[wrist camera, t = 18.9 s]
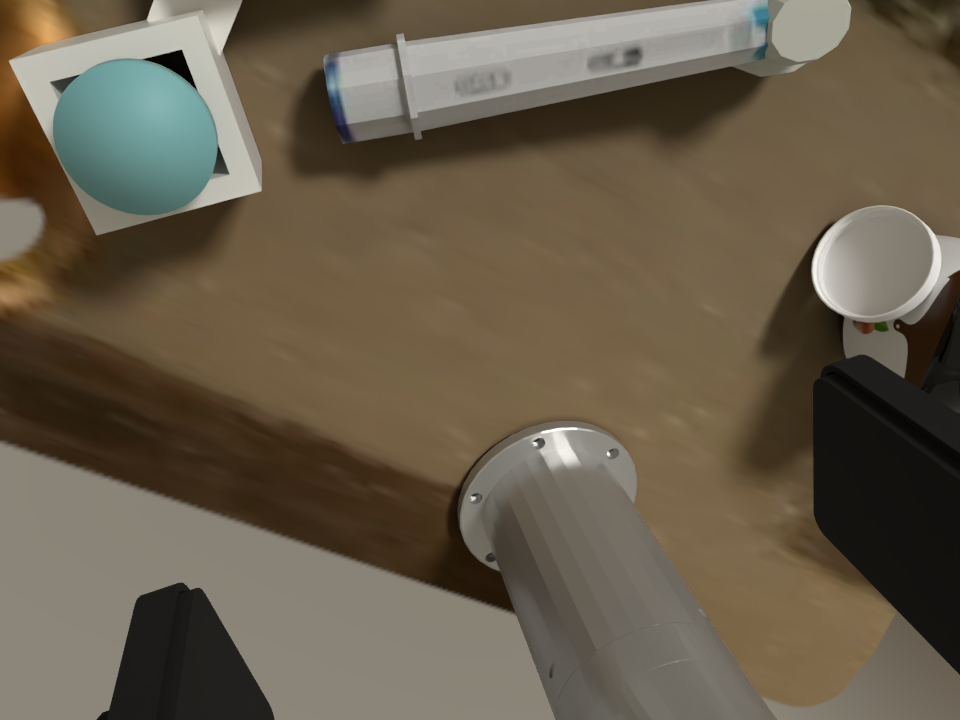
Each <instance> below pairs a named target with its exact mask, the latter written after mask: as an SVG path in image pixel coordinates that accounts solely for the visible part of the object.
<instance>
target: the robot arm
mask: <svg viewBox="0 0 960 720" xmlns="http://www.w3.org/2000/svg"><path fill="white" fill-rule="evenodd" d="M813 457H814V516H815V520H816V522H817V524H818V527H819V528H820V530H821V532H822V533H823V534H824V535H825V536H826V538H827V539H828V540H829V541H830V542H831V543H832V544H833V545H834V546H835V547H836V548H837V549H838V550H839V551H840V552H841V553H842V554H843V555H844V556H845V557H846V558H847V559H848V560H849V561H850V562H851V563H852V564H853V565H854V566H855V567H856V568H857V569H858V570H859V571H860V573H861V574H862V575H863V576H864V577H865V578H866V579H867V580H868V581H869V582H870V583H871V584H872V585H873V586H874V587H875V588H876V589H877V590H878V591H879V592H880V593H881V594H882V595H883V596H884V597H885V598H886V599H887V600H888V601H889V602H890V603H891V604H892V605H893V606H894V608H895V609H896V610H897V611H898V612H899V613H900V614H901V615H902V616H903V617H904V618H905V619H906V620H907V621H908V622H909V623H910V624H911V625H912V626H913V627H914V628H915V629H916V630H917V631H918V632H919V633H920V634H921V635H922V636H923V637H924V638H925V639H926V640H927V641H928V643H929V644H930V645H931V646H932V647H933V648H934V649H935V650H936V651H937V652H938V653H939V654H940V655H941V656H942V657H943V658H944V659H945V660H946V661H947V662H948V663H949V664H950V665H951V666H952V667H953V668H954V669H955V670H956V671H957V672H958V673H959V674H960V414H959V413H957V412H956V411H954V410H952V409H951V408H949V407H948V406H946V405H945V404H943V403H942V402H940V401H938V400H937V399H935V398H934V397H932V396H931V395H929V394H928V393H926V392H924V391H923V390H921V389H920V388H918V387H917V386H915V385H914V384H912V383H910V382H909V381H907V380H906V379H904V378H903V377H901V376H900V375H898V374H896V373H895V372H893V371H892V370H890V369H889V368H887V367H886V366H884V365H882V364H881V363H879V362H878V361H876V360H875V359H873V358H872V357H869V356H867V355H857V356H854V357H851V358H848V359H845V360H842V361H839V362H836V363H833V364H830V365H827V366H826V367H824V368H823V370H822V372H821V378H819V379H817V380H816V381H815V383H814V387H813ZM636 493H637V474H636V469H635V465H634V463H633V461H632V459H631V457H630V455H629V453H628V452H627V450H626V449H625V448H624V447H623V445H622V444H621V443H620V441H619V440H618V439H616V438H615V437H614V436H613V435H612V434H610V433H609V432H608V431H606V430H604V429H602V428H600V427H598V426H596V425H592V424H588V423H584V422H579V421H556V422H547V423H543V424H539V425H535V426H532V427H528V428H526V429H524V430H522V431H519V432H517V433H515V434H513V435H511V436H509V437H508V438H506V439H504V440H503V441H501V442H500V443H498V444H497V445H495V446H494V447H493V448H492V449H491V450H490V451H488V452H487V453H486V454H485V455H484V456H483V457H482V458H481V459H480V460H479V461H478V463H477V464H476V465H475V466H474V468H473V469H472V470H471V472H470V473H469V475H468V477H467V479H466V481H465V482H464V484H463V486H462V490H461V493H460V496H459V499H458V508H457V517H458V523H459V528H460V531H461V534H462V537H463V540H464V542H465V544H466V546H467V547H468V549H469V550H470V552H471V553H472V554H473V555H474V556H475V557H476V558H477V559H478V560H479V561H480V562H482V563H483V564H485V565H487V566H488V567H490V568H492V569H494V570H497V571H500V572H501V575H502V578H503V580H504V583H505V586H506V588H507V591H508V594H509V596H510V599H511V602H512V604H513V607H514V610H515V613H516V615H517V618H518V620H519V623H520V626H521V629H522V631H523V634H524V636H525V639H526V642H527V644H528V647H529V650H530V653H531V655H532V658H533V661H534V663H535V666H536V669H537V671H538V674H539V677H540V679H541V682H542V685H543V687H544V690H545V693H546V695H547V698H548V701H549V703H550V706H551V709H552V712H553V714H554V717H555V719H556V720H777V719H776V717H775V716H774V714H773V713H772V712H771V711H770V709H769V708H768V707H767V705H766V704H765V702H764V700H763V699H762V698H761V696H760V695H759V693H758V692H757V690H756V689H755V687H754V686H753V684H752V683H751V682H750V680H749V679H748V677H747V676H746V674H745V673H744V671H743V670H742V668H741V667H740V665H739V664H738V662H737V660H736V659H735V657H734V656H733V654H732V653H731V651H730V650H729V648H728V647H727V645H726V644H725V642H724V641H723V640H722V638H721V637H720V635H719V634H718V632H717V630H716V629H715V627H714V626H713V624H712V623H711V621H710V619H709V618H708V616H707V615H706V613H705V612H704V610H703V609H702V607H701V606H700V604H699V603H698V601H697V600H696V598H695V597H694V595H693V594H692V592H691V591H690V589H689V588H688V586H687V584H686V583H685V581H684V580H683V578H682V577H681V575H680V574H679V572H678V571H677V569H676V568H675V566H674V565H673V563H672V562H671V560H670V559H669V557H668V556H667V554H666V553H665V551H664V549H663V548H662V546H661V545H660V543H659V542H658V540H657V539H656V537H655V536H654V534H653V533H652V531H651V530H650V528H649V527H648V525H647V524H646V522H645V521H644V519H643V518H642V516H641V514H640V513H639V511H638V510H637V508H636V507H635V505H634V502H635V497H636ZM97 720H274V716H273V712H272V709H271V707H270V705H269V703H268V701H267V699H266V698H265V696H264V694H263V693H262V691H261V689H260V687H259V686H258V684H257V682H256V680H255V679H254V677H253V675H252V674H251V672H250V670H249V668H248V667H247V665H246V663H245V662H244V660H243V658H242V656H241V655H240V653H239V651H238V650H237V648H236V646H235V644H234V643H233V641H232V639H231V637H230V636H229V634H228V632H227V631H226V629H225V627H224V625H223V624H222V622H221V620H220V619H219V617H218V615H217V613H216V612H215V610H214V608H213V607H212V605H211V603H210V601H209V600H208V598H207V596H206V594H205V593H204V592H203V590H202V589H200V588H195V589H192V590H190V589H189V588H188V587H187V586H186V585H185V584H184V583H177V584H174V585H171V586H168V587H165V588H162V589H159V590H156V591H153V592H150V593H147V594H144V595H141V596H140V597H139V598H138V599H137V601H136V603H135V607H134V610H133V615H132V619H131V623H130V627H129V631H128V636H127V639H126V643H125V648H124V652H123V656H122V661H121V664H120V668H119V673H118V677H117V681H116V685H115V689H114V693H113V697H112V701H111V705H110V710H109V711H106V712H103V713H102V714H101V715H100V716H99V718H98V719H97Z"/></svg>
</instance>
